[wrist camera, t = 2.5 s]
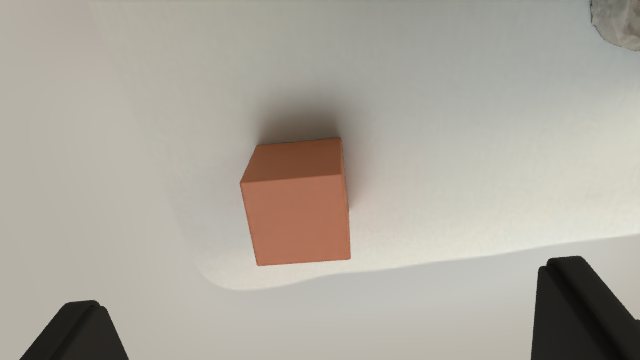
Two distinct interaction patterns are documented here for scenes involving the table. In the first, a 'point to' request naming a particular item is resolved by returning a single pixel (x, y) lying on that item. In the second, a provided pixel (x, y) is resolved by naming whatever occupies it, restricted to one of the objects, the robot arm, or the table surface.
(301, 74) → the table surface
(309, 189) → the block
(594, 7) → the ceramic cottage
